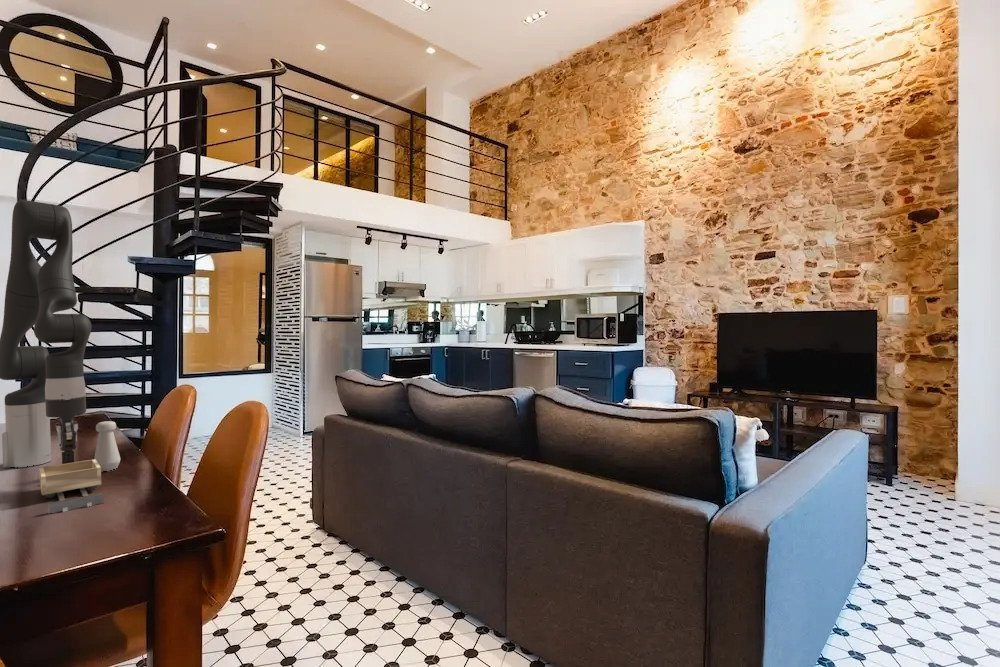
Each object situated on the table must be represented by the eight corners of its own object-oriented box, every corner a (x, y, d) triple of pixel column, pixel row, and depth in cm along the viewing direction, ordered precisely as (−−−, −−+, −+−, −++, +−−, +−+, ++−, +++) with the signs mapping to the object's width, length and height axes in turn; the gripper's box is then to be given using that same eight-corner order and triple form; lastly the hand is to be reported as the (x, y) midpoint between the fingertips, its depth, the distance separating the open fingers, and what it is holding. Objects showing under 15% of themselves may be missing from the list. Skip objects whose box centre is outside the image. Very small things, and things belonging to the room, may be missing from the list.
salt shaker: (126, 467, 141) (124, 419, 140) (108, 473, 135) (106, 424, 135) (106, 466, 141) (105, 419, 141) (88, 472, 136) (86, 423, 135)
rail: (42, 484, 126) (42, 476, 126) (89, 476, 132) (89, 468, 132) (49, 514, 106) (49, 505, 106) (104, 503, 112) (103, 494, 112)
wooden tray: (42, 501, 113) (41, 477, 113) (40, 490, 121) (39, 467, 120) (101, 490, 120) (100, 467, 120) (96, 480, 128) (95, 459, 128)
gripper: (43, 394, 127) (46, 464, 127) (46, 400, 117) (49, 475, 118) (82, 391, 132) (84, 458, 133) (88, 396, 123) (91, 468, 123)
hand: (68, 466), depth 125 cm, fingers closed
